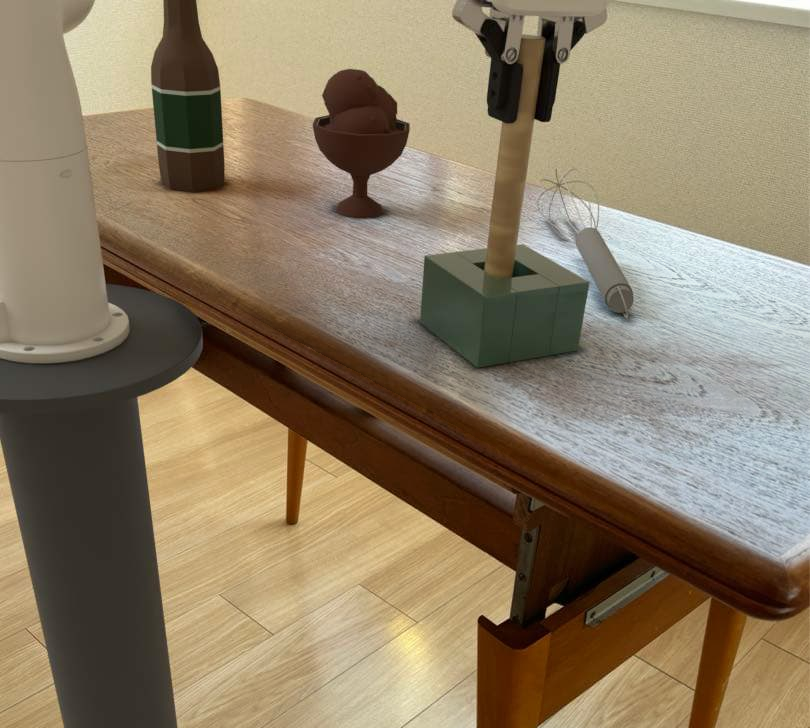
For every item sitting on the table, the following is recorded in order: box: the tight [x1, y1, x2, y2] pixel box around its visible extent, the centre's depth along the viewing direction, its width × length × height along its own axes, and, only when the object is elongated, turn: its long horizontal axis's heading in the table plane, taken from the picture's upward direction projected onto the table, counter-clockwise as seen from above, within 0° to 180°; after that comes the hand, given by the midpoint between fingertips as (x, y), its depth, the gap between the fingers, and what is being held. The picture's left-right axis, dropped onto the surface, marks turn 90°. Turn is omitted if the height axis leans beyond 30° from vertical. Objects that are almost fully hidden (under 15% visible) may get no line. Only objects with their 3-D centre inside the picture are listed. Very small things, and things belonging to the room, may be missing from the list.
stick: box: [484, 33, 546, 280], centre depth 74 cm, size 2×2×20 cm
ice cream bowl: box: [312, 68, 411, 219], centre depth 105 cm, size 11×11×15 cm
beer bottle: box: [150, 0, 226, 193], centre depth 108 cm, size 8×8×24 cm
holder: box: [419, 243, 590, 369], centre depth 80 cm, size 10×10×6 cm
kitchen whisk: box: [536, 167, 635, 319], centre depth 97 cm, size 6×34×6 cm, turn 4°
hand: (518, 116), depth 71 cm, fingers closed on stick, 2 cm apart
